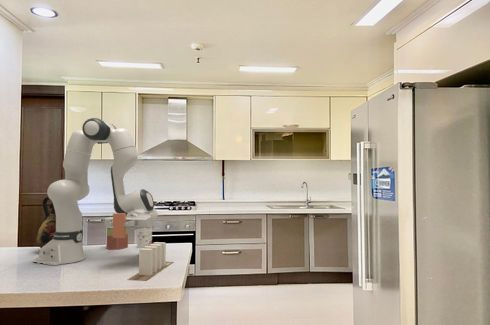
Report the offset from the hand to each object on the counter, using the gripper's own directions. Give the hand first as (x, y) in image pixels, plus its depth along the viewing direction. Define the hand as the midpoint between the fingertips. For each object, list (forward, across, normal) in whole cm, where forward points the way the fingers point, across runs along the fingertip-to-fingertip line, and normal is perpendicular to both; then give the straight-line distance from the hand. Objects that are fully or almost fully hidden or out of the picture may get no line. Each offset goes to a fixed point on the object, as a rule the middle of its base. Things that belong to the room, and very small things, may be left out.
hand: (118, 224), depth 130 cm
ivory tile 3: (-5, +14, +19) cm, 24 cm away
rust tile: (-1, 0, +6) cm, 6 cm away
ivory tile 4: (-1, +14, +19) cm, 24 cm away
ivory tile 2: (-9, +14, +19) cm, 25 cm away
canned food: (-43, -28, +20) cm, 55 cm away
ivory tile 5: (+3, +14, +19) cm, 24 cm away
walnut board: (-3, +14, +20) cm, 25 cm away
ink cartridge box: (-48, -14, +20) cm, 54 cm away
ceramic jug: (-29, -58, +20) cm, 68 cm away
